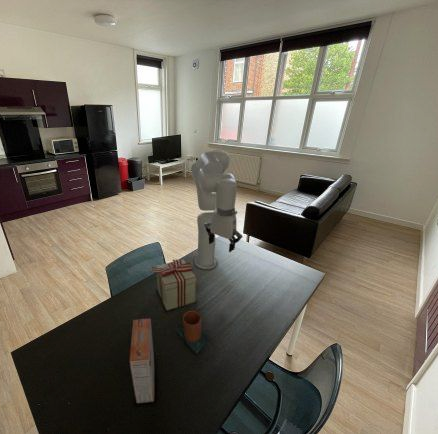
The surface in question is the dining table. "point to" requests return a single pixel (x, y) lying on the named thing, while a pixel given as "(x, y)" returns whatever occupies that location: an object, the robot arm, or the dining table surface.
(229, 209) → the robot arm
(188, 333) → the cup
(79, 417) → the dining table surface
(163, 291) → the gift box
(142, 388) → the cracker box
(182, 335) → the terrain model
